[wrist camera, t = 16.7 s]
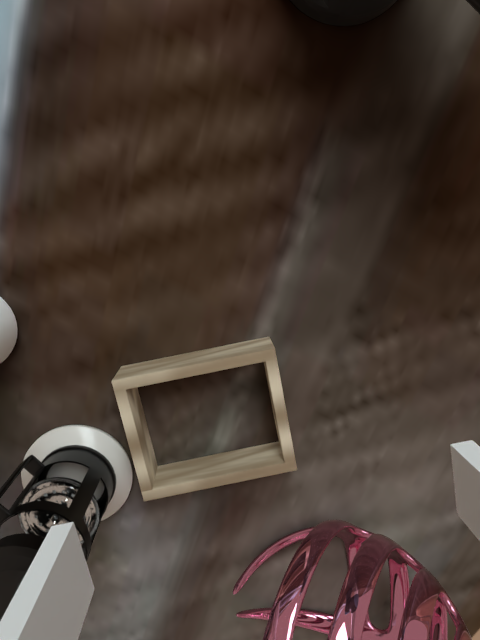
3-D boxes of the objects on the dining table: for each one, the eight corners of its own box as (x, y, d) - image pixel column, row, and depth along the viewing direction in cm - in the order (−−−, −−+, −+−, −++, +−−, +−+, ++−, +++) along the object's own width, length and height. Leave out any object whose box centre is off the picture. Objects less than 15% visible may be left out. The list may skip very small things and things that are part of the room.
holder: (121, 366, 52) (111, 381, 47) (269, 336, 52) (274, 348, 47) (150, 476, 55) (143, 501, 50) (289, 448, 55) (297, 470, 50)
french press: (137, 484, 54) (83, 667, 32) (82, 533, 55) (-7, 743, 33) (64, 419, 52) (-49, 566, 30) (8, 470, 53) (-142, 651, 31)
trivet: (9, 436, 53) (7, 439, 52) (118, 414, 53) (117, 416, 53) (40, 531, 56) (39, 534, 55) (144, 510, 56) (143, 513, 55)
